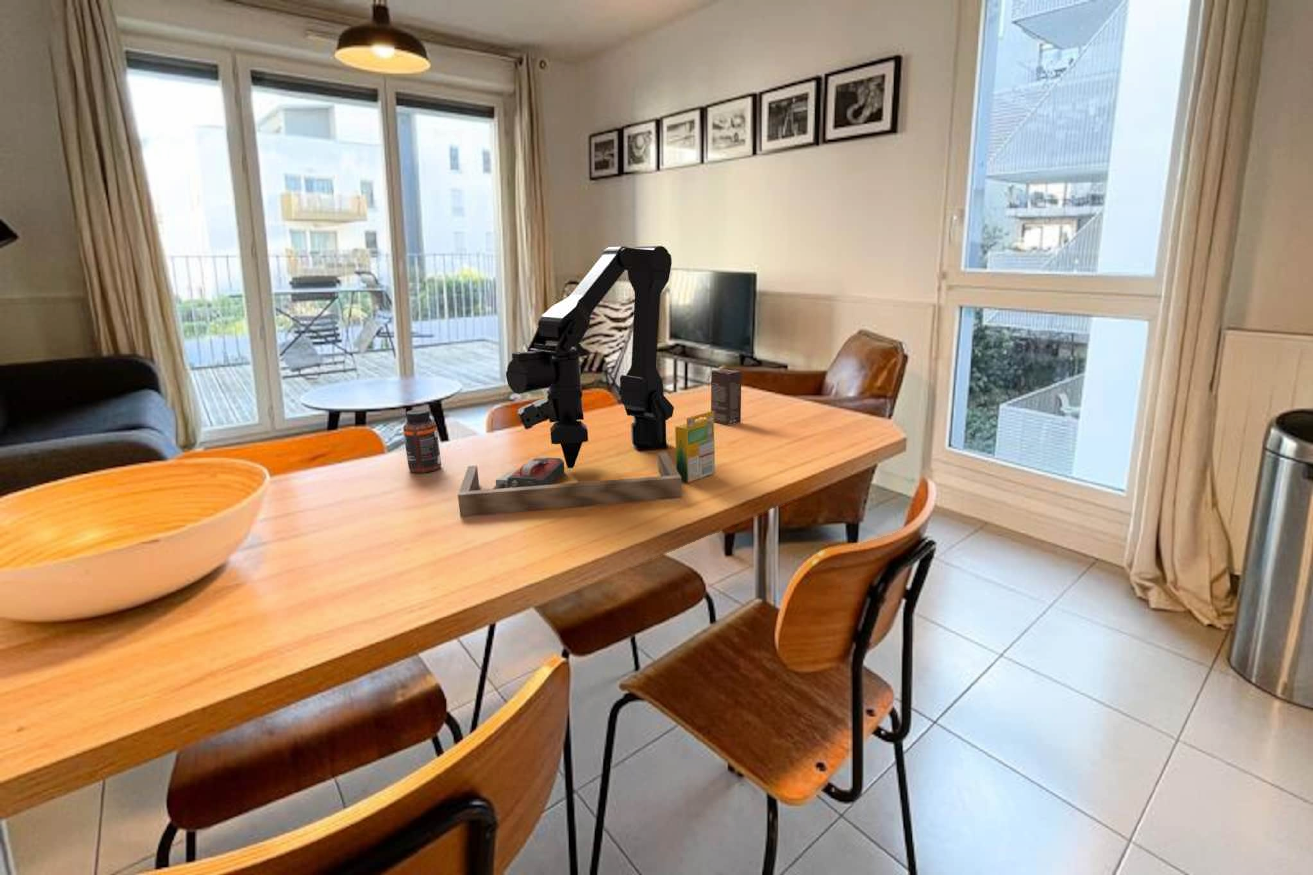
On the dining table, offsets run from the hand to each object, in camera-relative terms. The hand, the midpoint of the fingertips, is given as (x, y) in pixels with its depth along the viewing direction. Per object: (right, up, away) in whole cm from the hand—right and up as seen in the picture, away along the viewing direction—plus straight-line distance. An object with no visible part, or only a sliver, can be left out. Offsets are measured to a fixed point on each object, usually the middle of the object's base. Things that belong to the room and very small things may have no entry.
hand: (570, 467), depth 123 cm
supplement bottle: (-28, -1, +4) cm, 28 cm away
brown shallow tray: (+1, -3, -9) cm, 10 cm away
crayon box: (+23, -2, -4) cm, 23 cm away
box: (+32, +9, +33) cm, 47 cm away
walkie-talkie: (-7, -4, -7) cm, 10 cm away
